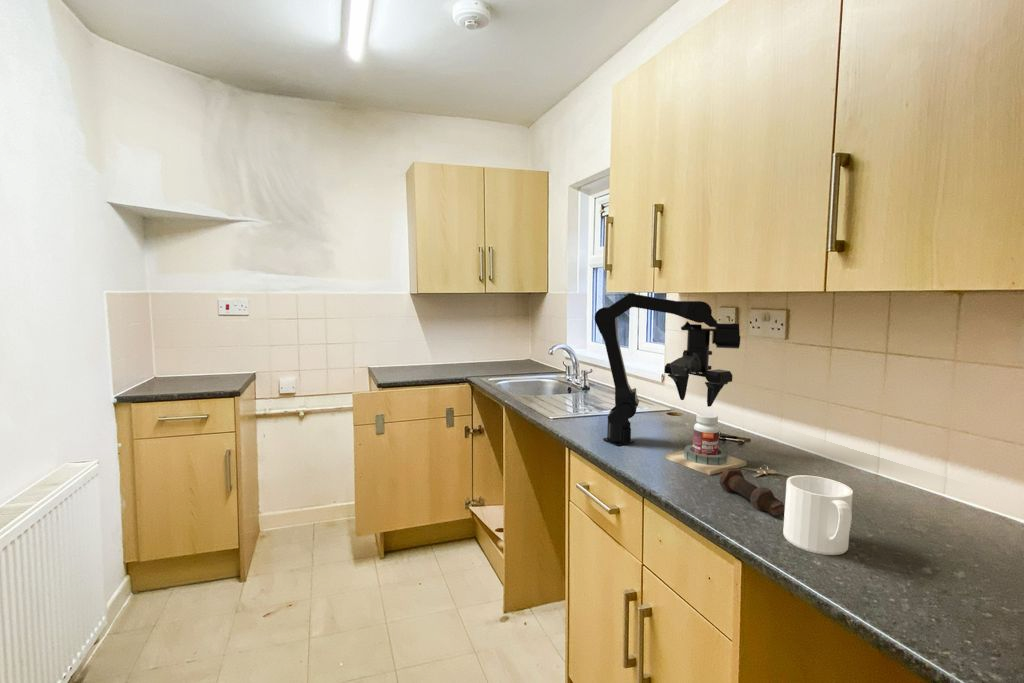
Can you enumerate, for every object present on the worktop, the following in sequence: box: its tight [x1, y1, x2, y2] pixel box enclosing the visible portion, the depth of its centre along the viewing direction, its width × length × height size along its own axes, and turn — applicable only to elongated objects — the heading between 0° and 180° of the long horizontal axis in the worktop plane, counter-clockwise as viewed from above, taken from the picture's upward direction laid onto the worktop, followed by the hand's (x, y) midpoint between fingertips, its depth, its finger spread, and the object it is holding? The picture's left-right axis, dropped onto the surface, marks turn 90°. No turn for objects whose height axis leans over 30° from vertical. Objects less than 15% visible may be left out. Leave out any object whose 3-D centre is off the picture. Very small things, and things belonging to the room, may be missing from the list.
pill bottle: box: [692, 412, 720, 455], centre depth 132 cm, size 6×6×11 cm
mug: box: [782, 474, 854, 556], centre depth 90 cm, size 13×10×10 cm
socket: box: [664, 444, 748, 476], centre depth 133 cm, size 14×14×3 cm
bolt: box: [719, 468, 785, 517], centre depth 108 cm, size 6×5×15 cm
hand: (695, 403), depth 142 cm, fingers open, 9 cm apart
